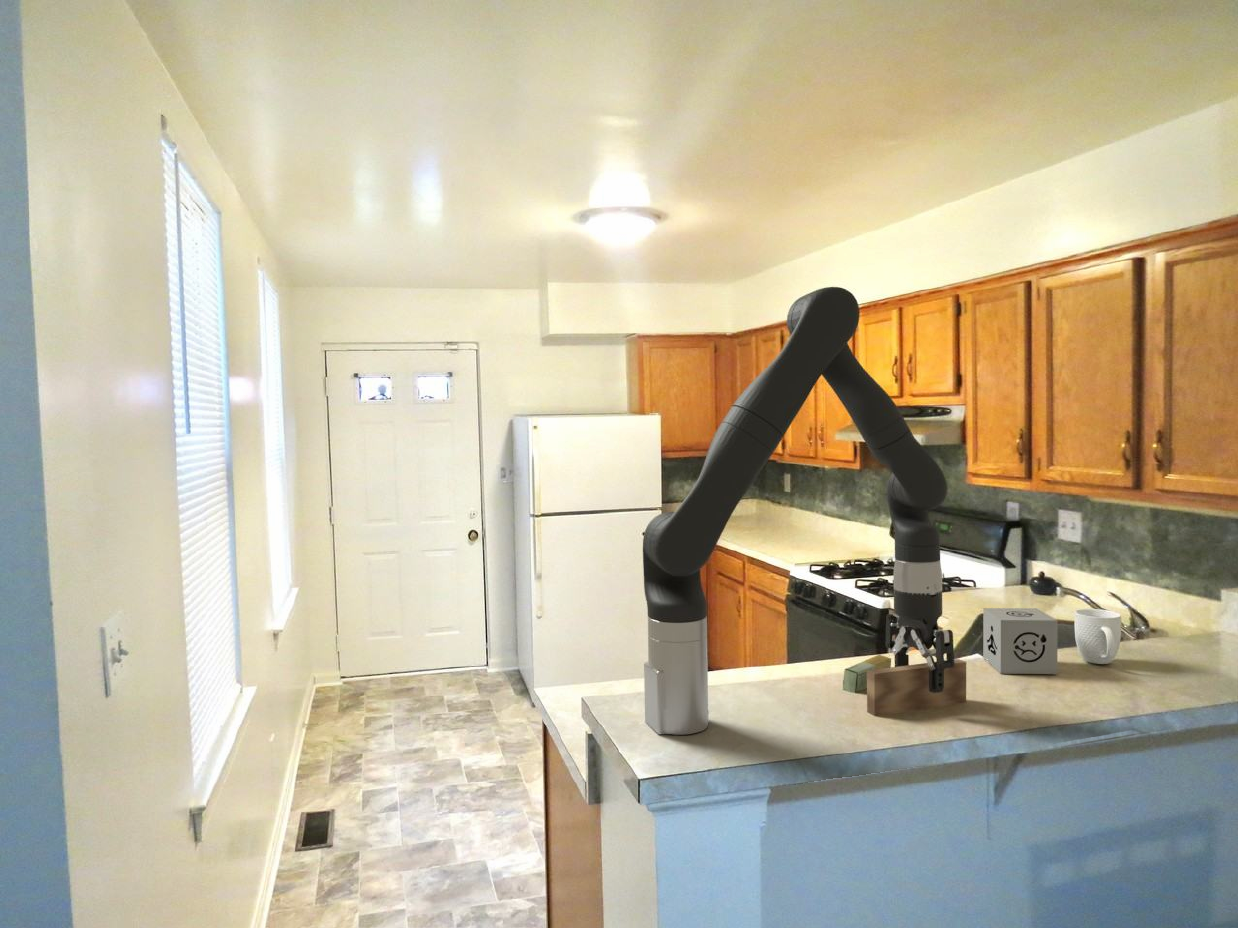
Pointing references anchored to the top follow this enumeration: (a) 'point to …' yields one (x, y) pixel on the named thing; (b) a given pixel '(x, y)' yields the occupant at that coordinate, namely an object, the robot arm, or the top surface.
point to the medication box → (863, 673)
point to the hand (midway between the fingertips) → (918, 684)
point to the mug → (1097, 634)
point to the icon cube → (1020, 640)
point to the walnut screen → (913, 688)
